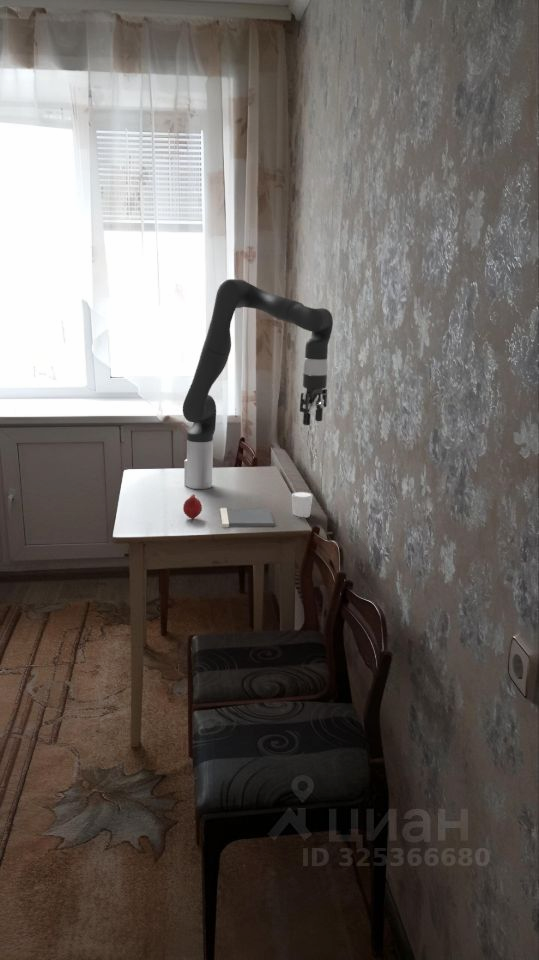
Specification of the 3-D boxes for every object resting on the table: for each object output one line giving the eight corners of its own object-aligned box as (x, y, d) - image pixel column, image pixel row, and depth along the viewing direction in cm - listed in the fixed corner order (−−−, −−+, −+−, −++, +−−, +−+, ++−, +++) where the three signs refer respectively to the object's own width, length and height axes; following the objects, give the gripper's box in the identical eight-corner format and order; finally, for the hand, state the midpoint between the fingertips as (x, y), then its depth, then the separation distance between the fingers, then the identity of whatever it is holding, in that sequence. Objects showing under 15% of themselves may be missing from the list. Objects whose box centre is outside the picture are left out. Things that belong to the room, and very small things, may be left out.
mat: (222, 527, 228) (222, 523, 228) (220, 511, 244) (220, 507, 243) (274, 527, 230) (274, 523, 230) (269, 511, 245) (269, 507, 245)
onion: (198, 522, 232) (198, 498, 230) (180, 521, 233) (180, 496, 231) (203, 517, 237) (204, 492, 235) (186, 515, 238) (186, 491, 236)
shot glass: (289, 511, 246) (290, 491, 244) (310, 511, 246) (311, 491, 244) (292, 518, 239) (292, 497, 237) (313, 518, 240) (314, 497, 238)
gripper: (315, 369, 245) (312, 418, 250) (294, 373, 234) (291, 424, 238) (335, 371, 242) (332, 421, 246) (315, 376, 230) (312, 427, 234)
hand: (312, 422), depth 242 cm, fingers open, 8 cm apart
